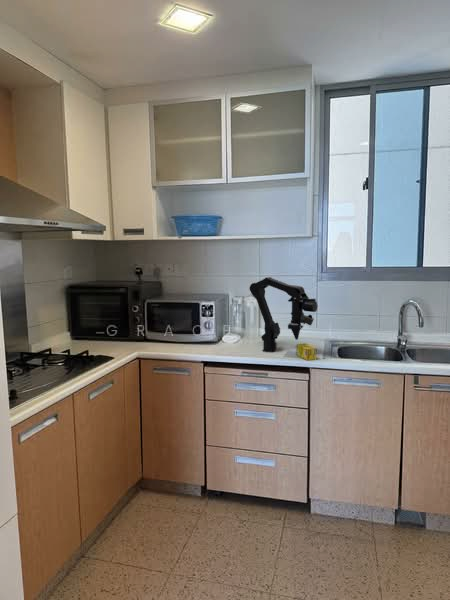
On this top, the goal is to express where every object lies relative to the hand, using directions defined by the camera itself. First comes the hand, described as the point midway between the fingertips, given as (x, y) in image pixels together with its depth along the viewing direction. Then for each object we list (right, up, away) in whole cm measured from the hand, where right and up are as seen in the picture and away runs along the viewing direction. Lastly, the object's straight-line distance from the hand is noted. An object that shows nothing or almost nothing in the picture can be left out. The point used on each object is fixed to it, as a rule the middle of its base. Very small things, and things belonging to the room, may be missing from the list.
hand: (296, 339), depth 217 cm
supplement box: (+2, -5, +1) cm, 6 cm away
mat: (0, -8, +2) cm, 9 cm away
